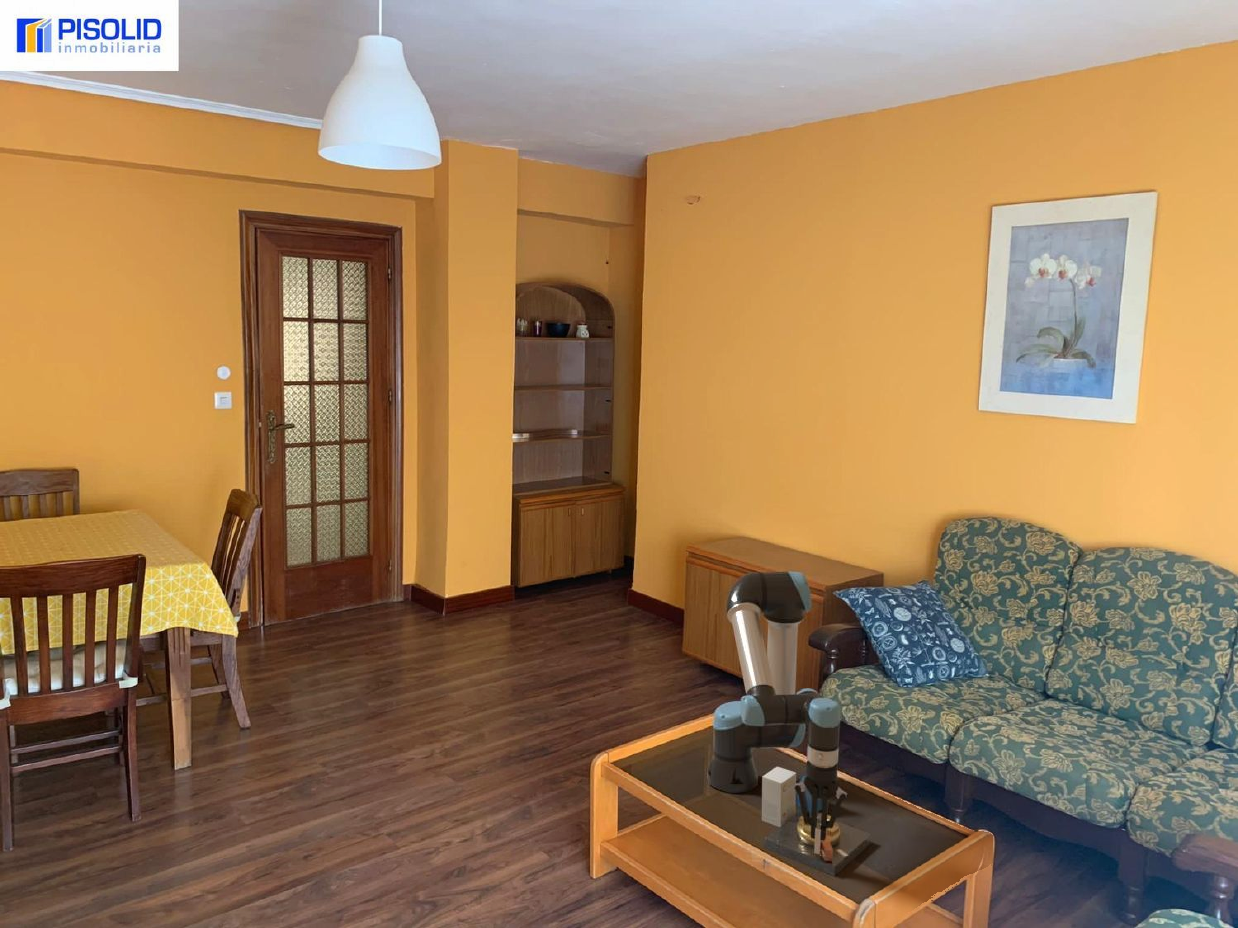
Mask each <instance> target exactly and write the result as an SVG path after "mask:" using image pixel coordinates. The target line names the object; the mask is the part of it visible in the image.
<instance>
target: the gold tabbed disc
mask: <svg viewBox="0 0 1238 928" xmlns="http://www.w3.org/2000/svg"><path fill="white" fill-rule="evenodd" d="M810 817H811V816H810ZM830 818H831V815H828V816H827V821H829V820H830ZM797 836H798V838H799V839H800V840H801V841H802V842H804V843H806V844H808V845H811V846H814V845H815V839H813V838H811V826H810V825H809V824H806V823H804V820H803V816H801V817H799V822H798V823H797ZM839 840H840V827H839V825H838V824H837V823H836V822H835V823H834V826H833V828H827V829H826V838H825V840H824V841H823V840H821V850H820V851H821V853H822V856H823V858H824V861H833V849H832V846H833V845H835V844H837V843H838V842H839Z"/></svg>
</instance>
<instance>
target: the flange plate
mask: <svg viewBox="0 0 1238 928" xmlns="http://www.w3.org/2000/svg"><path fill="white" fill-rule="evenodd" d="M809 814H810V816H811V811H809ZM821 814H822V812H818V816H817V820H818V821H817V823H818V824H821ZM801 816H803V815H802V810H801V811H799V812H798V813H797V814H795V816H794V817H793V818H792V819H790V820H789V821H788V822H786V823H785V824H784V825H782V826H781V827H777V829H776V830H775V831H773V832H772V833H770V834H769V835H768V836H767V837H765V838H764V848H765V849H767V850H769V851H773V852H774V853H777V854H780V855H782V856H784V857H787V858H789V859H792V860H794V861H796V862H799V863H801V864H804V865H805V866H809V867H811V868H813V869H815V870H818V871H820V872H822V873H825V874H828V875H830V876H833V877H835V876H837V874H839V873H840V872H841V871H842V870H843V869H845V867H846V866H848V864H849V863H851V862H852V861H853V860H854V859H855V858H856V857H858V856H859V855H860V854H861V853H862V852H863V851H864V850H865V849H867V847H868V846H870V845H871V844H872V834H871V833H869V832H866V831H863V830H861V829H858V828H855V827H853V826H850V825H848V824H846V823H845V824H844V823H842V822H840V821H836V820H835V822H836V823H837V824H838V825H839V827H840V840H839V842H838V843H837V844H835V845H833V846H832V849H833V861H824V858H823V856H822V853H821V851H820V853H819V854H817V853H814V846H811V845H808V844H806V843H804V842H802V841H801V840H800V839H799V838H798V836H797V823H798V822H799V817H801Z"/></svg>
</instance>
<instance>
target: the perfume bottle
mask: <svg viewBox="0 0 1238 928" xmlns="http://www.w3.org/2000/svg"><path fill="white" fill-rule="evenodd" d="M805 777H806V774H805V775H803V776H802V777H801V778H800V780H799V782H800V783H801V782H803V781H804V779H805ZM805 794H806V799H807V804H808V809H809V811H810V812H812V795H811V794H810V793H809V791H808V790H807V788H806V786H805ZM796 807H798V808H801V805H800V800H799V795H798V794H797V793H796ZM820 811H822V799H821V798H818V812H820Z"/></svg>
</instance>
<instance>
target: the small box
mask: <svg viewBox="0 0 1238 928" xmlns="http://www.w3.org/2000/svg"><path fill="white" fill-rule="evenodd" d="M761 778H762V779H761V781H762V782H761V785H762V786H761V821H762V822H765V823H766V824H769V825H771V826H774V827H777V828H780V827H781V826H782V825H784V824H785V823H786V822H788V821H789V820H790V819H792V818H793V817H794V816H796V813H797V811H796V810H797V809H796V807H797V806H796V803H797V792H796V790H795V786H796V783H797V773H796V772H795V771H792V770H789V769H787V768H784V767H779V766H775V767H774V768H772V769H771V770H770V771H768V772H766V774H764V775H763V776H762V777H761Z"/></svg>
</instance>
